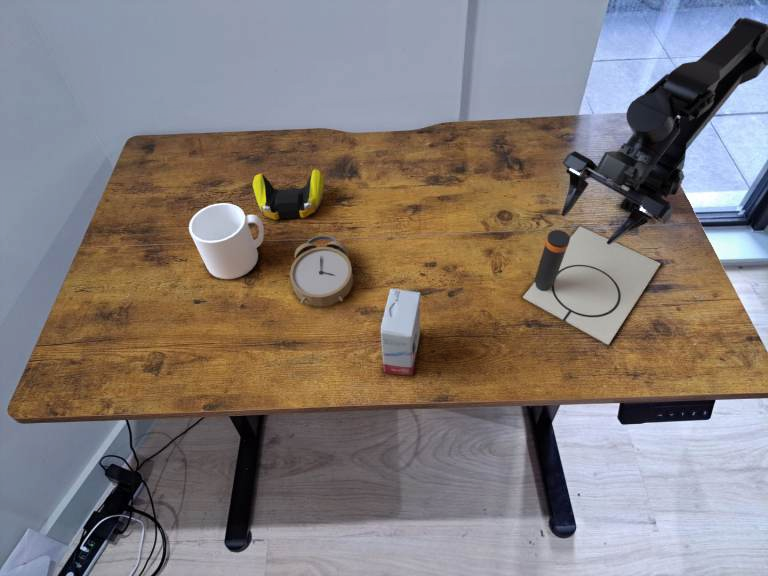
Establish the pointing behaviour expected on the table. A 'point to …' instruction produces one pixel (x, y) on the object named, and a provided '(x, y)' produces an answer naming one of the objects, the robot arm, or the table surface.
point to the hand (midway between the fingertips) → (584, 229)
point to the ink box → (400, 331)
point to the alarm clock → (321, 272)
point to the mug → (226, 239)
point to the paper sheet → (595, 285)
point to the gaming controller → (289, 197)
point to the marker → (551, 259)
